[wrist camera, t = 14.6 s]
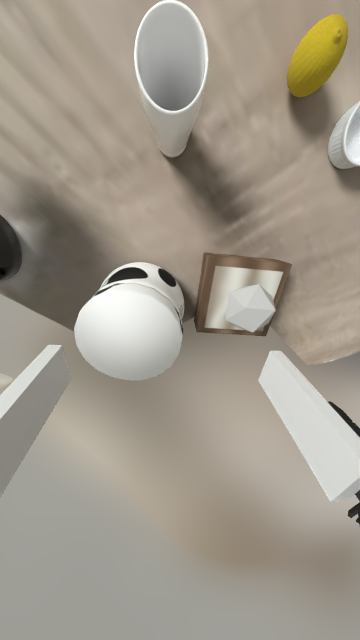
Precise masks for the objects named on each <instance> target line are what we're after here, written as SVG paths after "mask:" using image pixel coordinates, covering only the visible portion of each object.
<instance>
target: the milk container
mask: <svg viewBox="0 0 360 640" xmlns="http://www.w3.org/2000/svg"><path fill="white" fill-rule="evenodd" d="M183 314H184V298H183V294H182V291H181V288H180V286H179V285H178V283H177V281H176V280H175V279H174V277H173V276H172V275H171V274H170V273H168V272H167V271H166V270H164V269H163V268H161V267H159V266H157V265H154V264H151V263H145V262H134V263H129V264H126V265H123V266H121V267H119V268H117V269H115V270H114V271H113V272H111V273H110V274H109V275H108V276H107V277H106V279H105V280H104V281H103V283H102V285H101V287H100V289H99V290H98V291H97V292H96V293H95V294H94V295H93V296H92V298H91V299H90V300H89V301H88V302H87V303H86V304H85V305H84V306H83V308H82V309H81V310H80V312H79V315H78V318H77V321H76V324H75V327H74V333H75V340H76V346H77V347H78V349H79V350H80V352H81V354H82V356H83V358H84V359H85V360H86V361H87V362H88V363H89V364H91V365H92V366H93V367H94V368H95V369H96V370H98V371H100V372H102V373H104V374H106V375H108V376H110V377H113V378H118V379H122V380H128V381H133V380H146V379H149V378H152V377H155V376H158V375H160V374H161V373H163V372H164V371H165V370H167V369H168V368H170V367H171V366H172V365H173V363H174V361H175V360H176V358H177V357H178V355H179V353H180V349H181V343H182V337H183V328H182V318H183Z"/></svg>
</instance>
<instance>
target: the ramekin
mask: <svg viewBox="0 0 360 640" xmlns="http://www.w3.org/2000/svg"><path fill="white" fill-rule="evenodd" d="M328 156H329V159H330V161H331V163H332V164H333V165H334V166H335V167H337V168H340V169H347V168H352V167H356V166H360V101H359V102H358V103H357V104H356V105H354V106H353V107H352V108H351V109H349V110H348V111H347V112H346V113H345V114H344V115H343V116H342V117H341V118H340V120H339V121H338V122H337V124H336V125H335V127H334V129H333V131H332V133H331V135H330V139H329V143H328Z"/></svg>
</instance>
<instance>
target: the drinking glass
mask: <svg viewBox="0 0 360 640" xmlns="http://www.w3.org/2000/svg"><path fill="white" fill-rule="evenodd" d="M134 61H135V70H136V76H137V82H138V87H139V92H140V96H141V100H142V104H143V107H144V110H145V113H146V115H147V118H148V121H149V123H150V126H151V128H152V131H153V133H154V136H155V140H156V143H157V146H158V148H159V149H160V151H161V152H162V153H163V154H164V155H166V156H168V157H177V156H179V155H180V154H181V153H182V152H183V151H184V150H185V148H186V146H187V143H188V139H189V136H190V133H191V131H192V129H193V126H194V124H195V121H196V119H197V116H198V114H199V111H200V108H201V104H202V101H203V96H204V92H205V87H206V81H207V75H208V67H209V53H208V45H207V40H206V36H205V33H204V30H203V28H202V25H201V23H200V21H199V20H198V18H197V16H196V15H195V14H194V13H193V11H192V10H191V9H190V8H189V7H187V6H186V5H185V4H183V3H181V2H179V1H176V0H165V1H161V2H159V3H157V4H155V5H154V6H153V7H152V8H151V9H150V10H149V11H148V12H147V13H146V15H145V16H144V18H143V20H142V22H141V24H140V26H139V29H138V32H137V36H136V41H135V50H134Z"/></svg>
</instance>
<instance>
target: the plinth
mask: <svg viewBox="0 0 360 640" xmlns="http://www.w3.org/2000/svg"><path fill="white" fill-rule="evenodd" d="M291 266H292V264H289V263H286V262H283V261H280V260H275V259H265V258H254V257H244V256H234V255H223V254H213V253H204V256H203V263H202V270H201V277H200V283H199V290H198V297H197V304H196V311H195V318H194V322H195V326H196V330H197V332H205V333H223V334H240V335H255V336H266V334H267V332H268V329H269V326H270V324H271V321H272V318H273V316H272V318H271V320H270V321H269V323H268V324H266V325H265V326H263V327H261V328H260V329H258V330H256V331H255V332H250V331H247V330H245V329H242V328H240V327H238V326H236V325H234V324H232V323H230V322H228V321H227V320H226V313H227V304H228V295H229V292H231V291H234V290H237V289H239V288H242V287H245V286H251V285H257V284H259V285H260V286H262V287H263V288H264V289H265V290H266V291H267V292H268V293H269V294H270V295H271V296H272V298H273V302H274V306H275V310H276V307H277V304H278V302H279V299H280V296H281V294H282V291H283V288H284V285H285V283H286V280H287V277H288V274H289V272H290V269H291ZM274 313H275V312H274ZM273 315H274V314H273Z"/></svg>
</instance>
